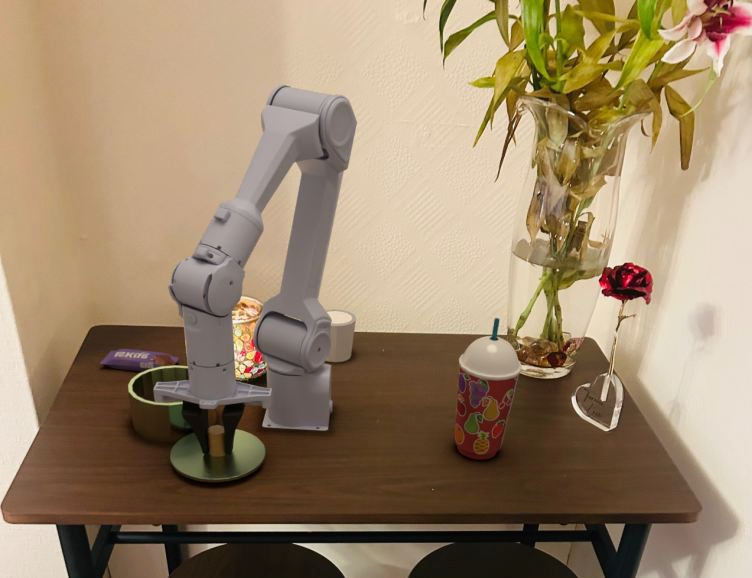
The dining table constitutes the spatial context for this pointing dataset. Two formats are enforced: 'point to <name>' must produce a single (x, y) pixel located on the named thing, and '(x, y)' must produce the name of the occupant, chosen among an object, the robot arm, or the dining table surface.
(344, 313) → the white cup
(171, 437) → the tin
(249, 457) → the tin lid
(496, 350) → the smoothie
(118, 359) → the snack package
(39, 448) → the dining table surface
